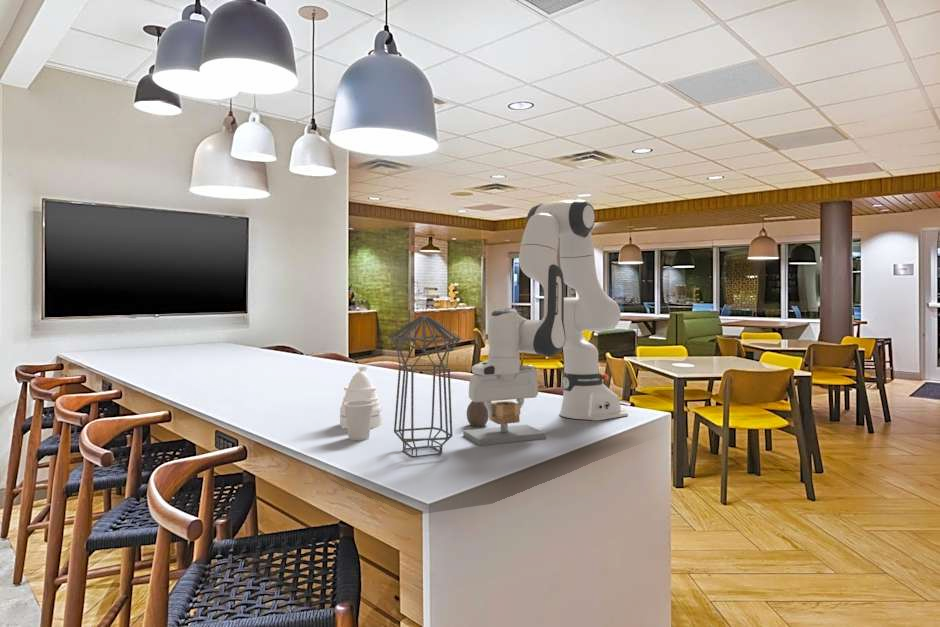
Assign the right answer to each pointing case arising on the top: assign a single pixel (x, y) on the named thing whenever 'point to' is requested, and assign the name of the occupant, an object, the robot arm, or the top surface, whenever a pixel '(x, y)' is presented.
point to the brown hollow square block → (505, 412)
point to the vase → (477, 414)
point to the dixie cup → (358, 418)
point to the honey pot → (362, 397)
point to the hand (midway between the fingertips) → (504, 415)
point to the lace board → (503, 434)
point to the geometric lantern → (423, 339)
